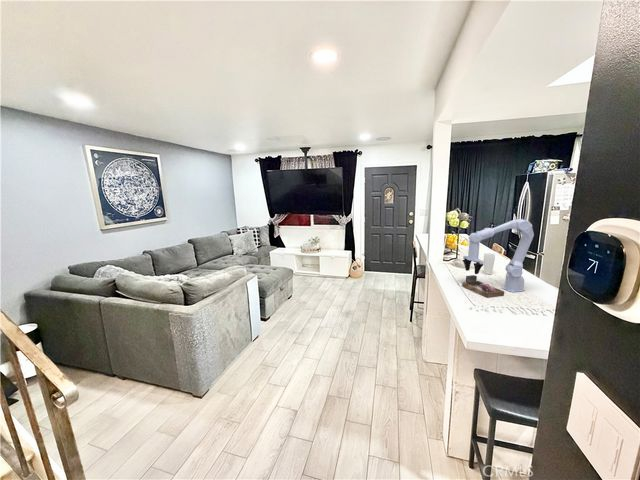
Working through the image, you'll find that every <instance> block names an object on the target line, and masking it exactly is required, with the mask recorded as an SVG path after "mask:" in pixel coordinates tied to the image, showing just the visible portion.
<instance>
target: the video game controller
mask: <svg viewBox="0 0 640 480" xmlns="http://www.w3.org/2000/svg"><path fill="white" fill-rule="evenodd" d="M482 283H483V284H480V285H478V286H479V289H480V290H482V291H484V292H487V293H488V292H497V291H496V290H495V289H494V288H493V287H494V286H492V285H490V284H489V283H485V284H484V282H482Z"/></svg>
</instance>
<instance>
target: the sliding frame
mask: <svg viewBox="0 0 640 480" xmlns="http://www.w3.org/2000/svg"><path fill="white" fill-rule="evenodd" d="M477 277H478V276H477V275H476V274H474V275H466V276H465V282H462V283H461V285H462V287H463V288H465V289H467V290H469V291H471V292H474V293H476V294H478V295H480V296H482V297H485V298H493V297H494V298H495V297H503V296H504V295H505V291H504V290H503V289H502V290H501V289H500V288H497V287H494V286H492V287H493V288H494V289H495V290H496V291H497V292H484V291H483V290H482V289H481V288H477V287H475V286H479V285H480V284H483V283H484V282H481V281H479V280H477V279H478V278H477ZM484 284H486V283H484Z"/></svg>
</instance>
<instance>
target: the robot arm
mask: <svg viewBox="0 0 640 480" xmlns="http://www.w3.org/2000/svg"><path fill="white" fill-rule="evenodd" d="M506 230H517V231H519V233H520V236H521V238H520V239H519V242H518V245H517V247H516V250H515V252H514V255H513V257H512V259H511V260H510V261H509V262H508V264H507V265H505V271H506V274H505V280H504V286H501V287H500V288H501V289H502V290H506V291H509V292H511V293H516V292H518V293H519V292H523V291H526V290H525V289H524V287H525V286H524V285H525V278H524V277H523V276H522V275H523V267H524V264H523V262H524V261H525V257H526V255H527V253H528V251H529V248H530V245H531V243H532V241H533V238H534V237H535V233H534V229H533V224H532V223H531V222H530V221H529V220H527V219H522V218H515V220H514V219H513V220H509V221H506V222H505V223H502V224H500V225H497V226H494V227H493V228H491V227H485V228H484V229H482V230H479V231H477V230H476V232H471V233H470V234H469V236H468V239H469V243H468V255H463V258H462V262H463V265H464V269H465V271H467V272H468V271H470V268H471V264H472V262H474V263H473V266H474V275H479V273H480V270H481V269H482V267H484V260H481V259H480V258H479V254H480V243H481V241H483V240H487V239H489V238H491V237H494V235H495V234H497V233H501V232H504V231H506Z"/></svg>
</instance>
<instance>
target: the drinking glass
mask: <svg viewBox="0 0 640 480" xmlns="http://www.w3.org/2000/svg"><path fill="white" fill-rule="evenodd" d="M495 260H496V255H495V254H494V253H488V252H486V253H484V254H483V261H484V262H483V274H485V275H492V274H493V271H494V270H493V269H494V265H495Z"/></svg>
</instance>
